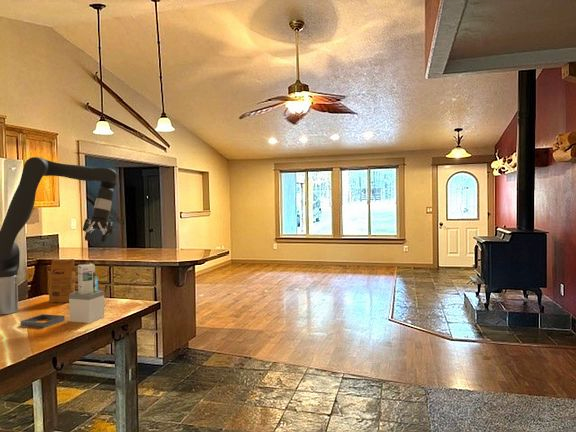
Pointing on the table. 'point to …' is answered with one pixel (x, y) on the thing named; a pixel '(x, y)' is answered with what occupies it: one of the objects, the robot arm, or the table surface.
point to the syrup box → (86, 279)
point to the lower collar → (52, 320)
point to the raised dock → (86, 307)
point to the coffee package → (61, 280)
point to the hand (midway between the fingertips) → (94, 241)
